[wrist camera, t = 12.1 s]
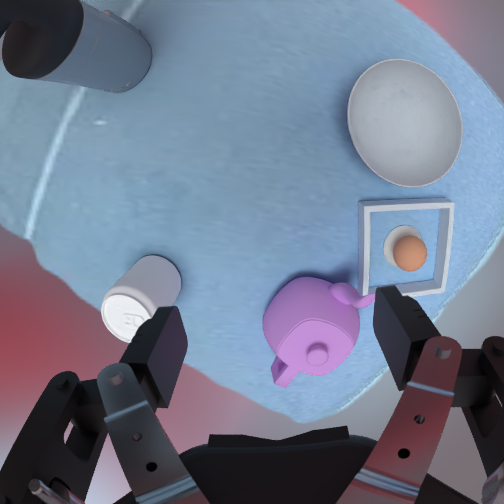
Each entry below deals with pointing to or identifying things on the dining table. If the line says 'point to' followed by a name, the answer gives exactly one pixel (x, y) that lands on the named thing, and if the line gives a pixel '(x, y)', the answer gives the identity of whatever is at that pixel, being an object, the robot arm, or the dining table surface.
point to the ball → (409, 253)
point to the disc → (394, 237)
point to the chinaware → (404, 123)
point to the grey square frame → (442, 245)
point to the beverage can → (140, 295)
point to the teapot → (312, 327)
